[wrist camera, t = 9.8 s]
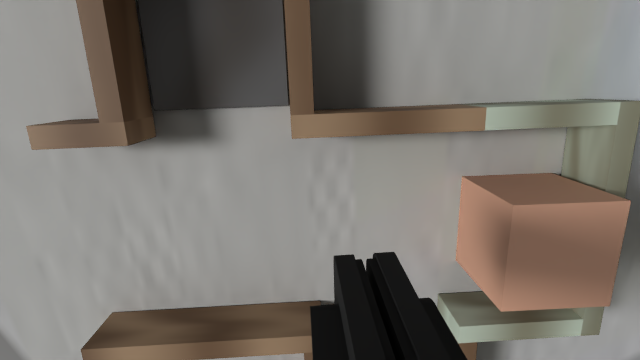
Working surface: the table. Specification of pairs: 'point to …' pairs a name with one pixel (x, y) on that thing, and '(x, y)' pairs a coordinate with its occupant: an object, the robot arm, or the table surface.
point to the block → (540, 240)
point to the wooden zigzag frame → (271, 90)
